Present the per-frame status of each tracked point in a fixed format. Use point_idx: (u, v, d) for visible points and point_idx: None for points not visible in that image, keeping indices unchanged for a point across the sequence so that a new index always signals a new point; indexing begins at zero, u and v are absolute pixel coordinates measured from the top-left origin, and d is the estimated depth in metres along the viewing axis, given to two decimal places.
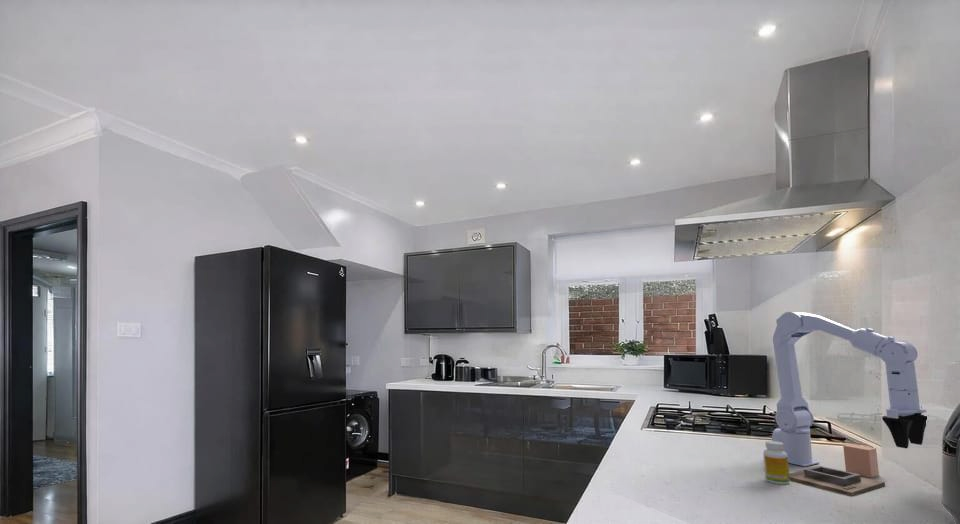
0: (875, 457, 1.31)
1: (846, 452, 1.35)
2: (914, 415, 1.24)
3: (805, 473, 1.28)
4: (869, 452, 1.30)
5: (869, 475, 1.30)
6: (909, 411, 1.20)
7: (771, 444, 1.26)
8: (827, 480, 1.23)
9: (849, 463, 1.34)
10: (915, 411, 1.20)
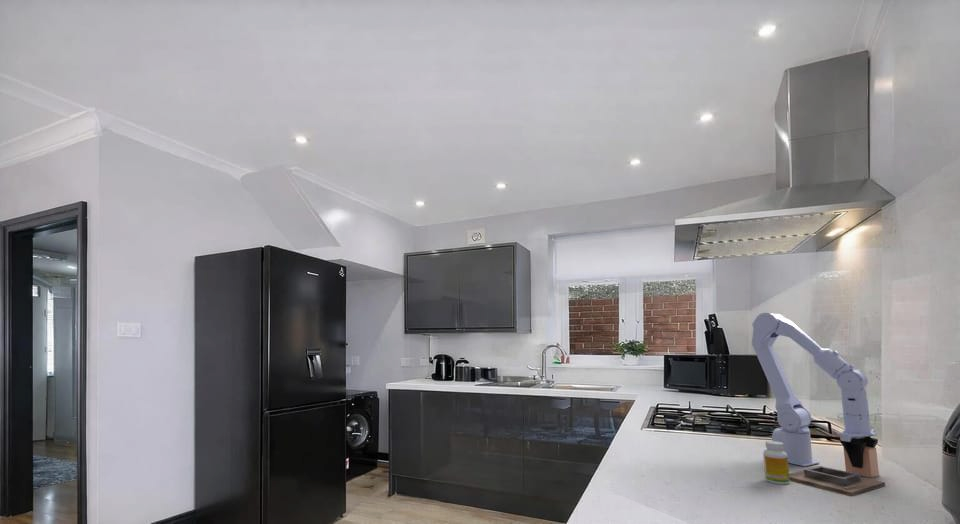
0: (876, 456, 1.31)
1: (846, 452, 1.35)
2: (864, 438, 1.35)
3: (805, 473, 1.28)
4: (869, 451, 1.30)
5: (869, 475, 1.30)
6: (860, 435, 1.31)
7: (771, 444, 1.26)
8: (827, 480, 1.23)
9: (849, 463, 1.34)
10: (866, 435, 1.31)
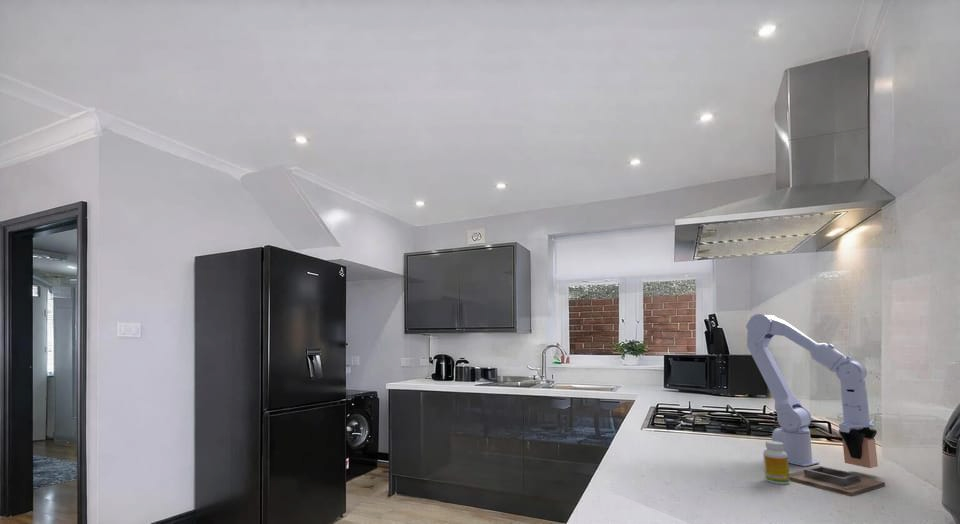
0: (874, 447, 1.32)
1: (844, 443, 1.35)
2: (863, 429, 1.35)
3: (805, 473, 1.28)
4: (868, 442, 1.31)
5: (868, 466, 1.30)
6: (859, 426, 1.31)
7: (771, 444, 1.26)
8: (827, 480, 1.23)
9: (848, 454, 1.34)
10: (865, 426, 1.31)
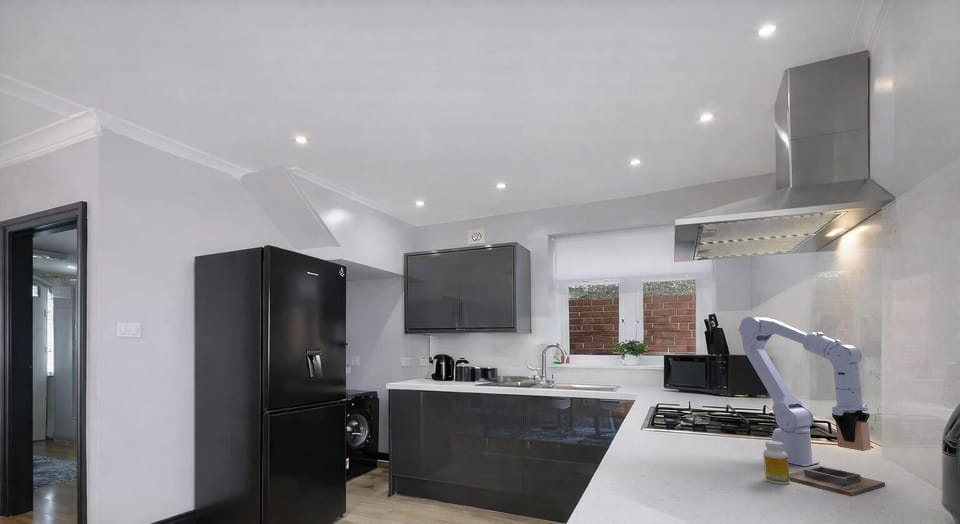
0: (867, 430, 1.31)
1: (838, 426, 1.34)
2: (856, 413, 1.34)
3: (805, 473, 1.28)
4: (861, 425, 1.30)
5: (861, 448, 1.29)
6: (852, 408, 1.30)
7: (771, 444, 1.26)
8: (827, 480, 1.23)
9: (841, 437, 1.33)
10: (858, 408, 1.31)
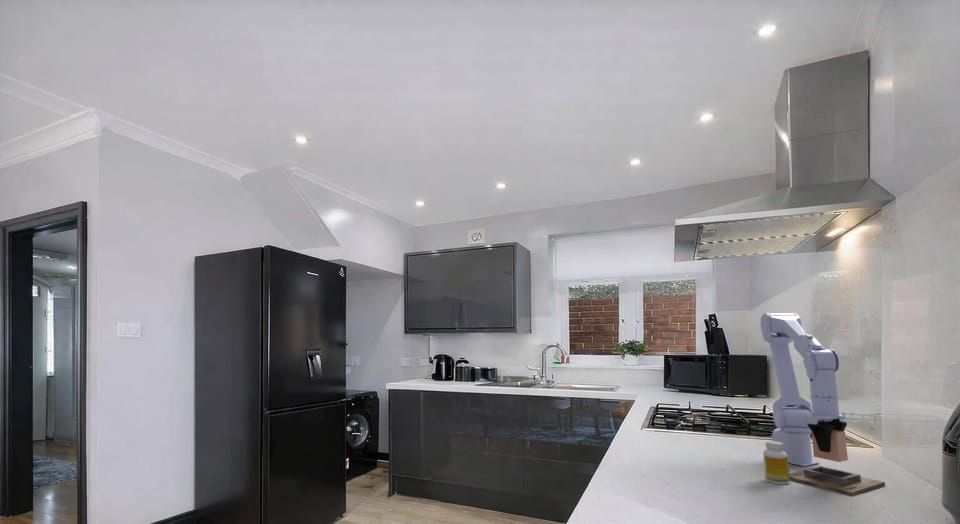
0: (844, 440, 1.25)
1: (813, 436, 1.28)
2: (832, 421, 1.28)
3: (805, 473, 1.28)
4: (837, 435, 1.24)
5: (837, 459, 1.23)
6: (828, 417, 1.25)
7: (771, 444, 1.26)
8: (827, 480, 1.23)
9: (817, 447, 1.27)
10: (834, 417, 1.25)
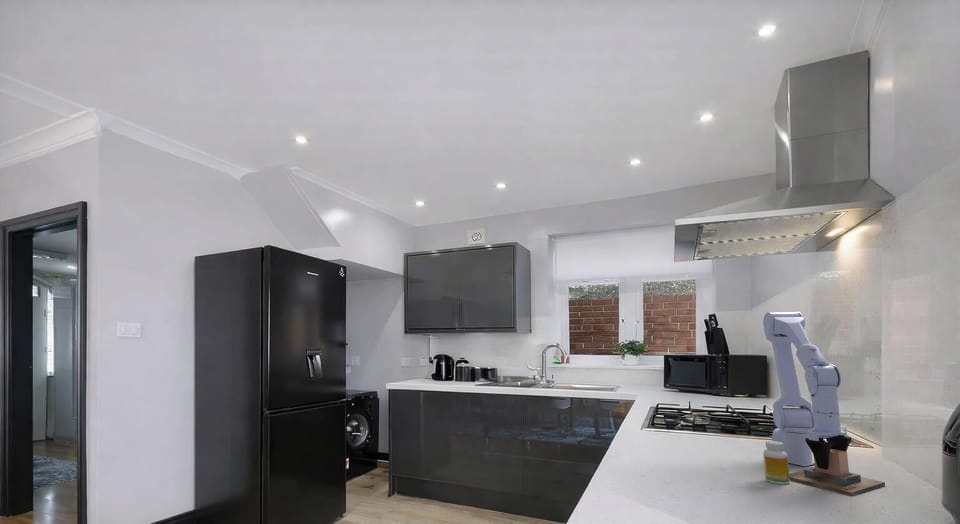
0: (846, 460, 1.24)
1: None
2: (837, 437, 1.29)
3: (805, 473, 1.28)
4: (840, 455, 1.23)
5: None
6: (829, 433, 1.24)
7: (771, 444, 1.26)
8: (827, 480, 1.23)
9: None
10: (835, 433, 1.24)
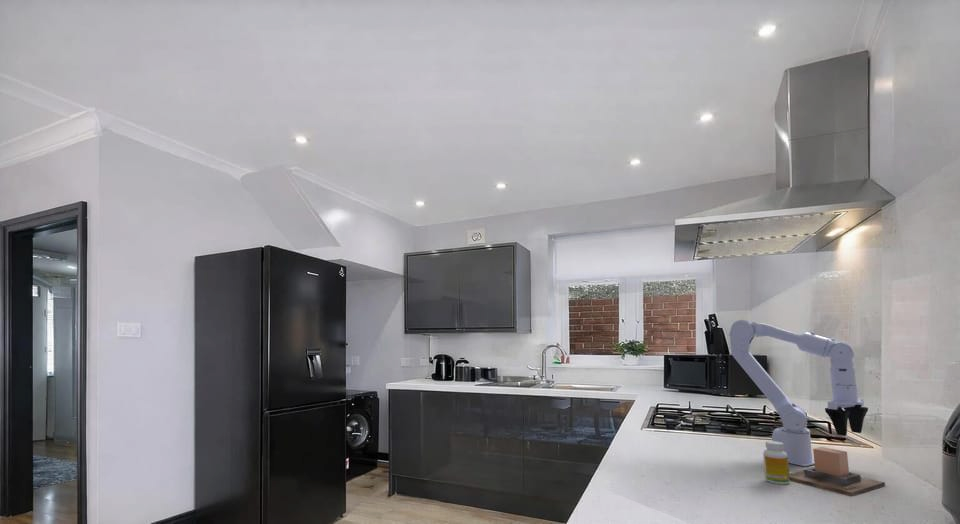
0: (846, 460, 1.24)
1: (815, 455, 1.28)
2: (854, 407, 1.41)
3: (805, 473, 1.28)
4: (840, 455, 1.23)
5: None
6: (847, 403, 1.37)
7: (771, 444, 1.26)
8: (827, 480, 1.23)
9: (819, 467, 1.27)
10: (853, 403, 1.37)
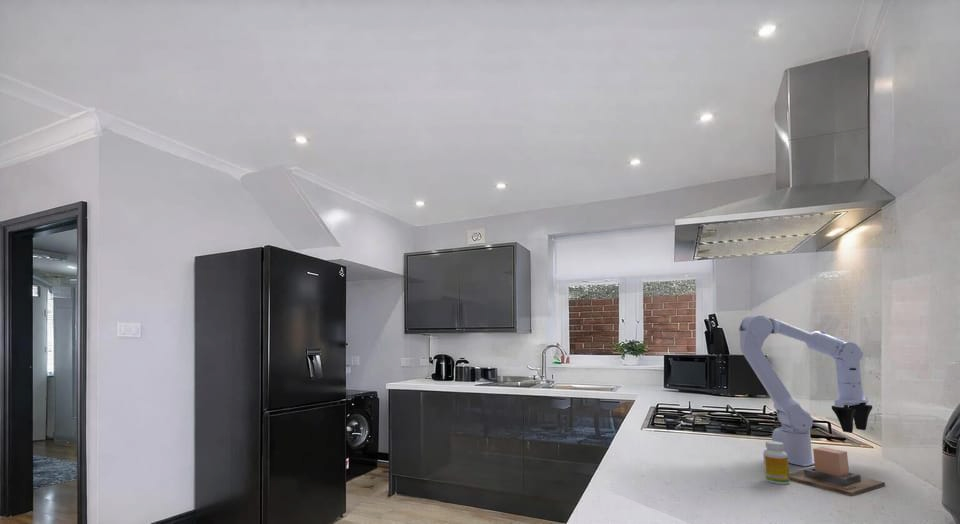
0: (846, 460, 1.24)
1: (815, 455, 1.28)
2: (859, 405, 1.45)
3: (805, 473, 1.28)
4: (840, 455, 1.23)
5: None
6: (853, 401, 1.41)
7: (771, 444, 1.26)
8: (827, 480, 1.23)
9: (819, 467, 1.27)
10: (858, 401, 1.41)
